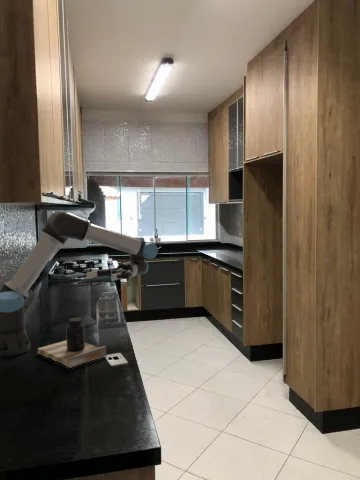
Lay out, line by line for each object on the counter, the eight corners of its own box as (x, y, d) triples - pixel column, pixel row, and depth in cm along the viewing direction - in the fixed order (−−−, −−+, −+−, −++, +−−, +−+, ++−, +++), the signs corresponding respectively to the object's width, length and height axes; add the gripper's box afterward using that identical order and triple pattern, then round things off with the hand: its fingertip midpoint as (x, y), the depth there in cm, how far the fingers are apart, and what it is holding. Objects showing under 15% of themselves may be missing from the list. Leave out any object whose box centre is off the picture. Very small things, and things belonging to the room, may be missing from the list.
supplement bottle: (62, 350, 149) (61, 320, 148) (75, 345, 155) (74, 316, 154) (75, 353, 146) (74, 322, 145) (88, 348, 152) (87, 318, 151)
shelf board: (37, 354, 152) (37, 344, 152) (72, 344, 164) (72, 334, 164) (70, 369, 137) (70, 358, 137) (106, 356, 149) (106, 346, 149)
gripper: (148, 279, 182) (122, 287, 163) (106, 276, 193) (77, 283, 174) (148, 263, 182) (122, 269, 163) (106, 261, 193) (77, 267, 174)
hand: (99, 276), depth 169 cm, fingers open, 13 cm apart
